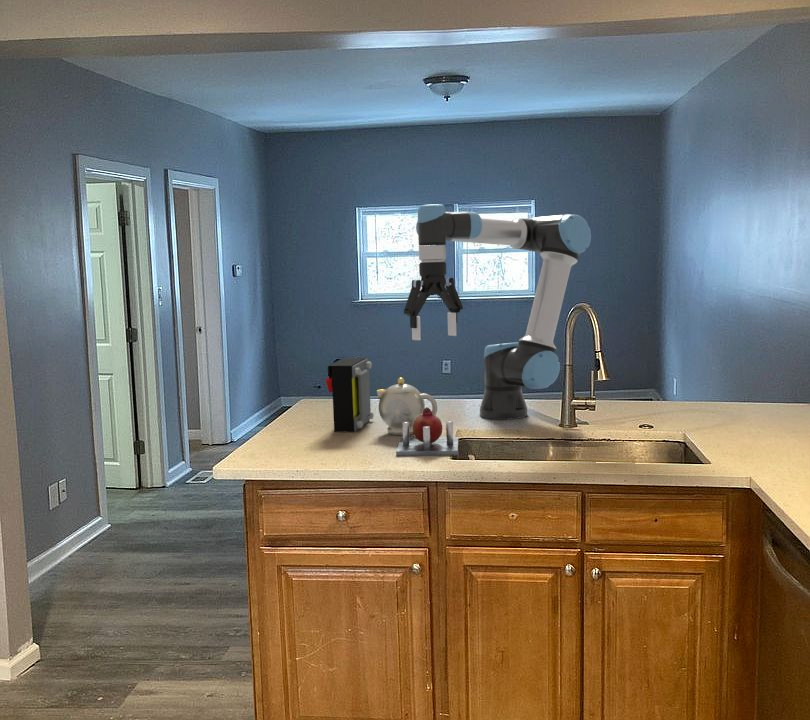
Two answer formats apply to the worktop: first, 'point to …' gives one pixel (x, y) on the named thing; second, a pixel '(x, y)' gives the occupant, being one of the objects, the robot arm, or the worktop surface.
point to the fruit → (427, 420)
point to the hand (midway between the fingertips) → (434, 337)
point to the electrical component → (350, 393)
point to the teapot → (402, 406)
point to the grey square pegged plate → (427, 443)
